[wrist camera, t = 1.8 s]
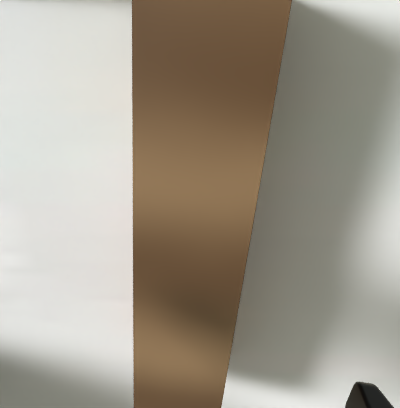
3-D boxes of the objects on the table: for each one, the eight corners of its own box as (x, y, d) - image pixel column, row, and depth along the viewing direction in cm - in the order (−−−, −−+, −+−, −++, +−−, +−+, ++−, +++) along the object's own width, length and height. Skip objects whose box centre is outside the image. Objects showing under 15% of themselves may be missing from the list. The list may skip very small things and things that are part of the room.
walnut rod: (223, 355, 19) (216, 434, 15) (155, 344, 19) (133, 419, 16) (281, -6, 11) (294, -13, 8) (168, -16, 12) (132, -27, 8)
